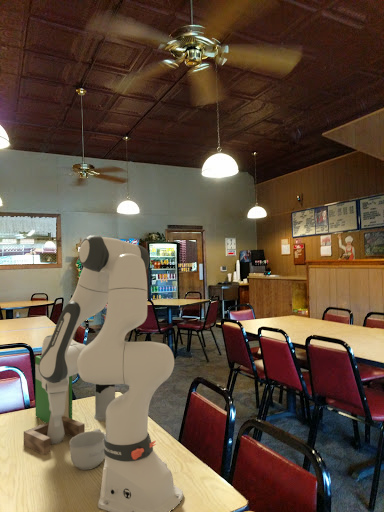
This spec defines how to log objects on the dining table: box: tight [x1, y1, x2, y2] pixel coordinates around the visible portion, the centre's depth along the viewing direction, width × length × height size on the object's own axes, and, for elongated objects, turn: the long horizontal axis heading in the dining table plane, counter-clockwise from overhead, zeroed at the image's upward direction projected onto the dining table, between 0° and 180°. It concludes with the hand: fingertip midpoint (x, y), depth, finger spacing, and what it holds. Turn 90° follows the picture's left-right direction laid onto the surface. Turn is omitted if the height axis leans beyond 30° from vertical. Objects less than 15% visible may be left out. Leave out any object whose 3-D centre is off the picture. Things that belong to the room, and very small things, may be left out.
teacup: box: [68, 428, 106, 471], centre depth 114 cm, size 14×11×8 cm
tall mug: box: [92, 383, 116, 422], centre depth 152 cm, size 9×14×15 cm, turn 42°
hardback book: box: [34, 354, 73, 424], centre depth 148 cm, size 18×7×24 cm, turn 43°
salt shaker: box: [47, 406, 66, 445], centre depth 128 cm, size 6×6×13 cm
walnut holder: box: [23, 416, 86, 456], centre depth 129 cm, size 12×16×4 cm
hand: (55, 420), depth 129 cm, fingers open, 8 cm apart
